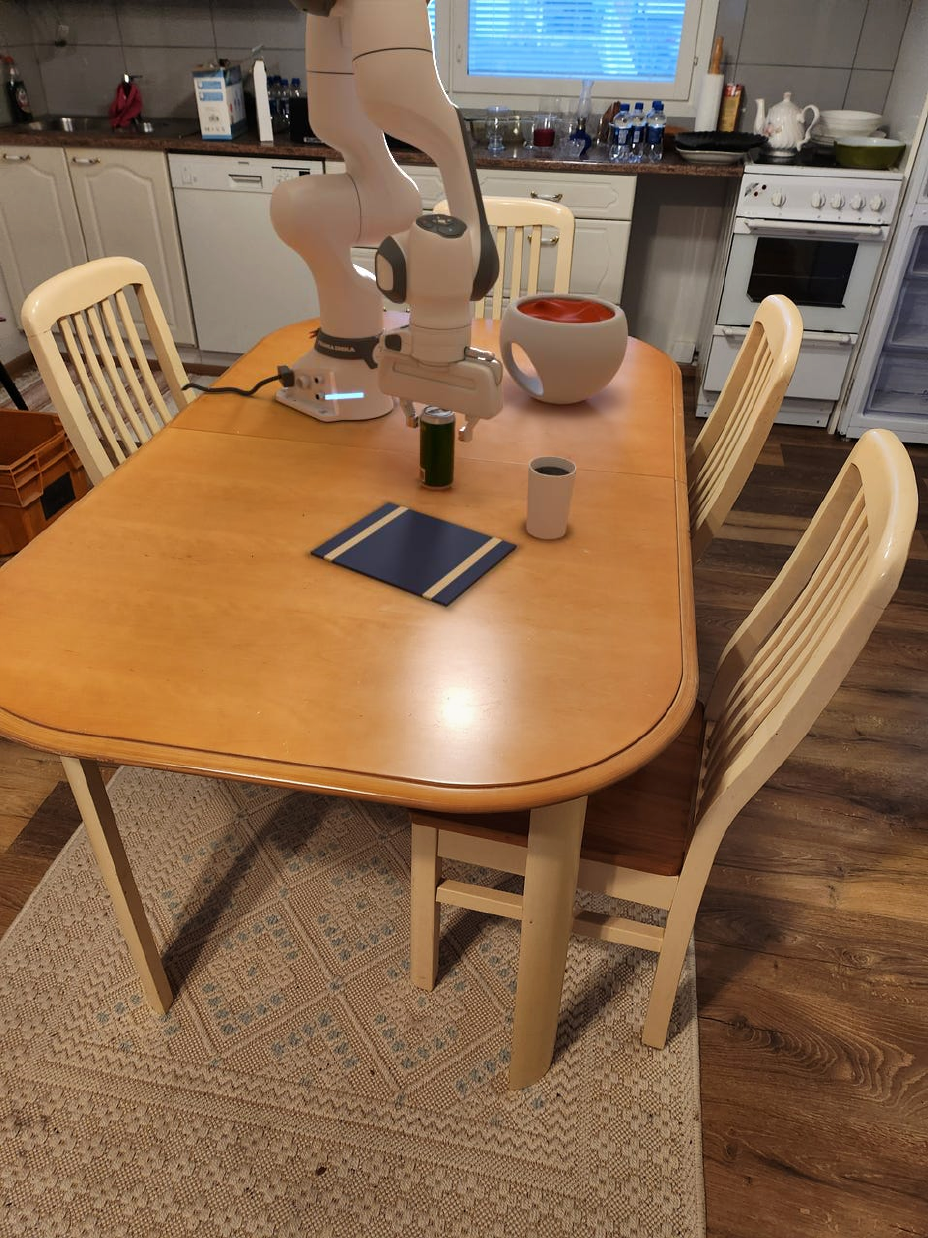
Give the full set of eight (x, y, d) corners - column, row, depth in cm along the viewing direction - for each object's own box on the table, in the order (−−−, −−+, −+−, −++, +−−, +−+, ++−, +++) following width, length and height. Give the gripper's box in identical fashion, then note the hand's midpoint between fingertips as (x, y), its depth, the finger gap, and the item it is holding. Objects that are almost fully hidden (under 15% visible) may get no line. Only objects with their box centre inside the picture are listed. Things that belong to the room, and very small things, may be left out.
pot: (616, 425, 158) (631, 327, 148) (487, 412, 161) (492, 314, 151) (620, 381, 178) (633, 291, 168) (504, 370, 181) (510, 281, 171)
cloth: (310, 554, 117) (310, 551, 117) (388, 504, 130) (388, 501, 130) (446, 606, 108) (446, 603, 108) (516, 547, 121) (516, 544, 121)
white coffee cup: (538, 544, 122) (544, 479, 116) (514, 523, 127) (519, 460, 121) (577, 535, 124) (586, 471, 119) (553, 514, 129) (559, 452, 124)
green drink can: (430, 494, 133) (432, 420, 126) (413, 480, 137) (413, 407, 130) (460, 486, 136) (462, 413, 129) (441, 473, 139) (443, 401, 133)
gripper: (514, 349, 121) (508, 442, 129) (395, 324, 130) (396, 413, 138) (491, 360, 117) (487, 456, 124) (370, 334, 125) (372, 425, 133)
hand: (438, 433), depth 131 cm, fingers open, 8 cm apart
